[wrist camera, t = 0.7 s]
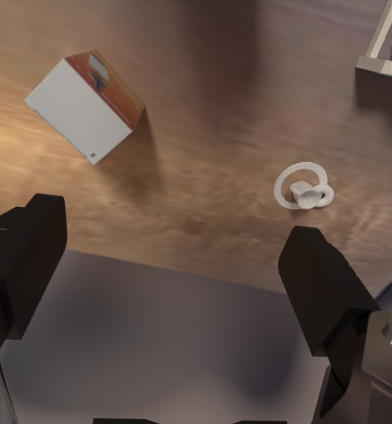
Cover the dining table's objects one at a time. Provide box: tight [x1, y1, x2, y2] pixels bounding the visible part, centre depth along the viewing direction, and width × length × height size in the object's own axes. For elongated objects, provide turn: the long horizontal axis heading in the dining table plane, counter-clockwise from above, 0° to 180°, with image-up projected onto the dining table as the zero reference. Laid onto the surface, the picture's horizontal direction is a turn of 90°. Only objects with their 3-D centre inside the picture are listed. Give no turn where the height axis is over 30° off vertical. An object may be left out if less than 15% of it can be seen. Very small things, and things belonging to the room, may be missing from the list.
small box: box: [24, 49, 145, 166], centre depth 30 cm, size 8×6×10 cm
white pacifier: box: [274, 162, 334, 209], centre depth 41 cm, size 9×8×4 cm
